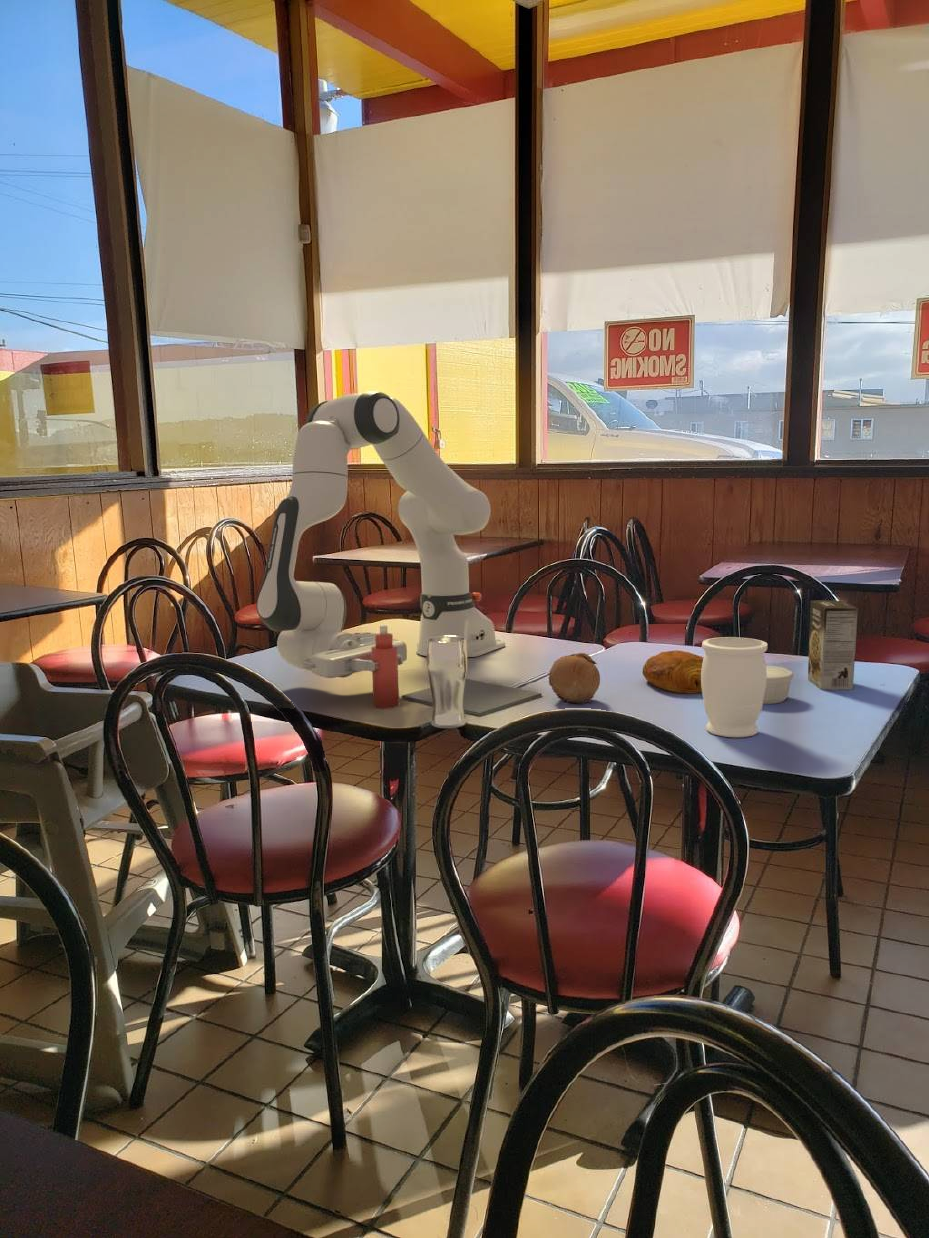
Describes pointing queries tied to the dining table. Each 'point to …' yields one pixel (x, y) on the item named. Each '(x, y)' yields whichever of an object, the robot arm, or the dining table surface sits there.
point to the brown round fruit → (574, 678)
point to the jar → (733, 684)
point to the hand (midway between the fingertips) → (388, 663)
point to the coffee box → (832, 644)
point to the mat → (481, 697)
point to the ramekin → (777, 684)
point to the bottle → (385, 671)
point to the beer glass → (447, 679)
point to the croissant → (675, 671)
